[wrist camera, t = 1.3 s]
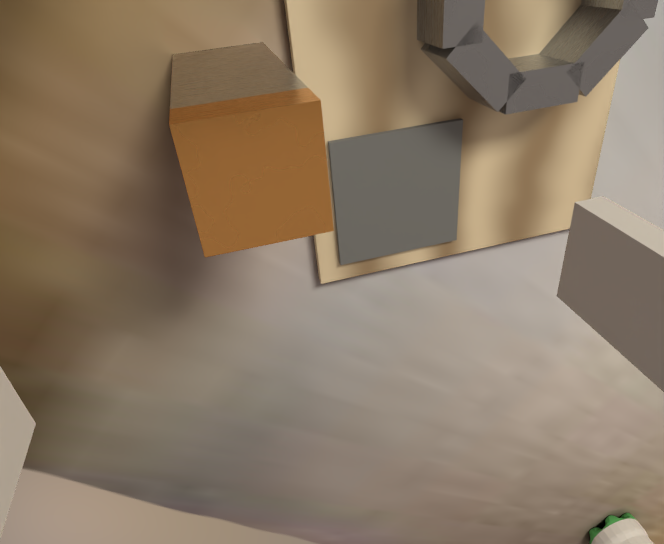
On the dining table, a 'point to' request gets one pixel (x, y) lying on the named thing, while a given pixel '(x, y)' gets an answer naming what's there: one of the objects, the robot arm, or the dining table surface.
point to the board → (450, 117)
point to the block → (249, 148)
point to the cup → (620, 531)
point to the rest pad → (396, 189)
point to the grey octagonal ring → (533, 70)
